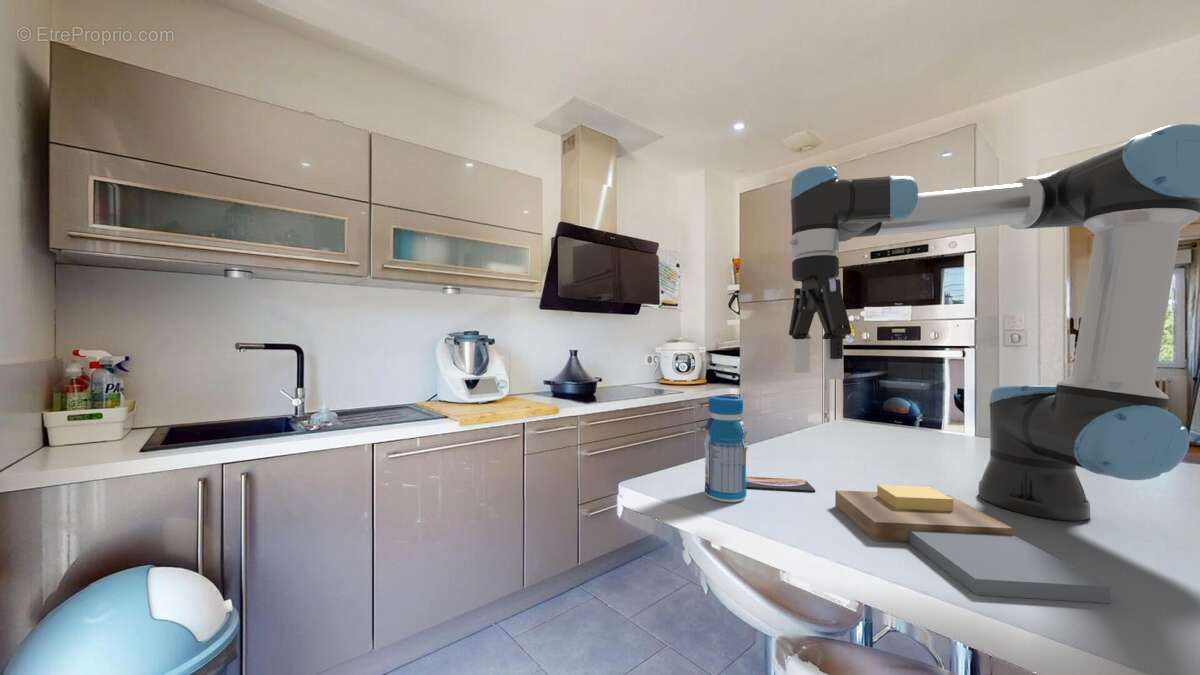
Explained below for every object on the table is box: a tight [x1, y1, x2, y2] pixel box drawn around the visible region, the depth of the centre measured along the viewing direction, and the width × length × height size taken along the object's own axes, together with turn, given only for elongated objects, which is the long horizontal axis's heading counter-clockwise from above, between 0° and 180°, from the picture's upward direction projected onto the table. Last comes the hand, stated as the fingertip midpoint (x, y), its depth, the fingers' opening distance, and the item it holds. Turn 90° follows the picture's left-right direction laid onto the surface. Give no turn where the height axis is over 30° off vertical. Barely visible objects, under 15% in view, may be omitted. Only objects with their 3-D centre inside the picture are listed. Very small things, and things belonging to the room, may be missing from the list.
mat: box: [909, 531, 1111, 604], centre depth 59 cm, size 15×13×2 cm
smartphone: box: [746, 476, 816, 494], centre depth 93 cm, size 8×1×15 cm
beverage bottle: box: [703, 395, 748, 503], centre depth 86 cm, size 8×8×20 cm
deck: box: [834, 489, 1014, 544], centre depth 73 cm, size 20×14×3 cm
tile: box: [876, 484, 953, 511], centre depth 75 cm, size 9×6×2 cm, turn 84°
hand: (816, 375), depth 76 cm, fingers open, 13 cm apart
